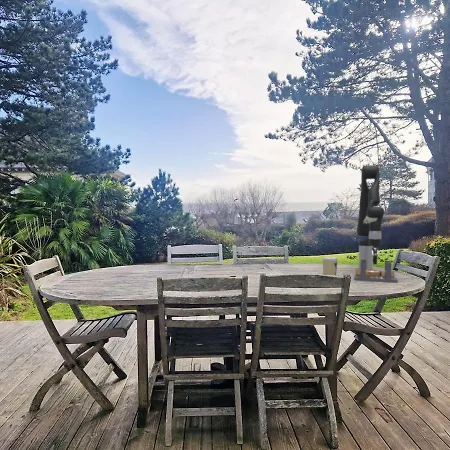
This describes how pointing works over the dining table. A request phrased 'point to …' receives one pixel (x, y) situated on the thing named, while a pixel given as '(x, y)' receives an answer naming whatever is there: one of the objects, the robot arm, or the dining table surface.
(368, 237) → the robot arm
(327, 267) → the coffee cup
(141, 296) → the dining table surface
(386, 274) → the grey u-shaped frame
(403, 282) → the dining table surface
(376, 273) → the copper tube
